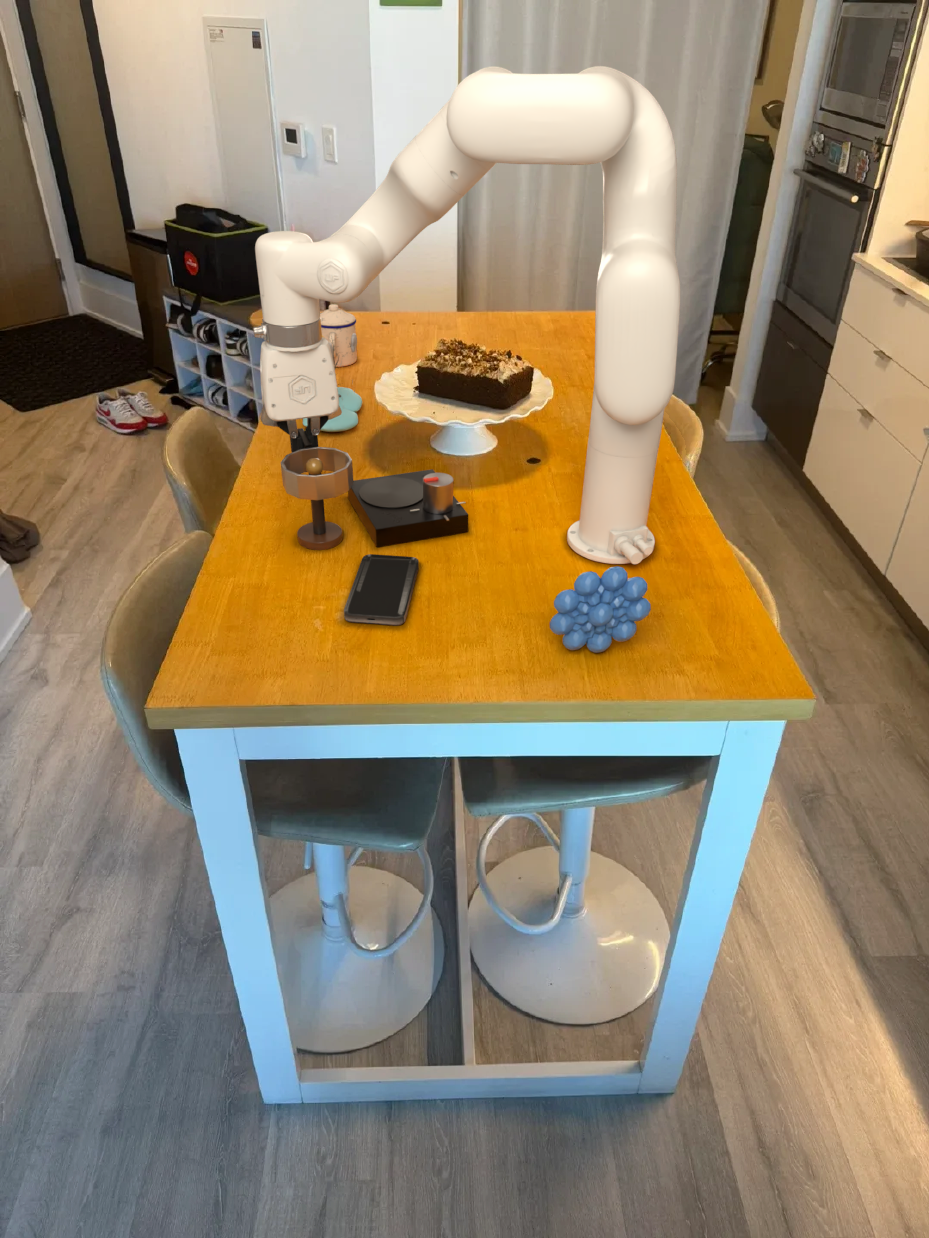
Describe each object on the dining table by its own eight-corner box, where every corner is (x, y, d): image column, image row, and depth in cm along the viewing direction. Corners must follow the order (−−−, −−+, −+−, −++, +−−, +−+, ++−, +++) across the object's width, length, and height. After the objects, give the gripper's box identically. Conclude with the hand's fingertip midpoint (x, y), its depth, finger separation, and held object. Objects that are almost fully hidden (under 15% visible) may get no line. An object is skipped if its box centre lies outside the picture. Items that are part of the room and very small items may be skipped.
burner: (434, 502, 134) (434, 501, 134) (369, 512, 131) (369, 511, 131) (413, 474, 142) (413, 473, 142) (351, 483, 139) (351, 482, 139)
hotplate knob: (446, 498, 136) (447, 469, 133) (457, 511, 132) (457, 481, 129) (419, 502, 134) (418, 473, 131) (428, 516, 131) (428, 486, 128)
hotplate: (475, 534, 133) (475, 515, 131) (378, 550, 128) (377, 531, 127) (437, 485, 146) (437, 467, 144) (348, 498, 141) (347, 480, 140)
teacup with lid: (317, 353, 197) (313, 298, 191) (359, 354, 197) (357, 299, 191) (311, 372, 187) (307, 315, 181) (355, 373, 188) (352, 316, 181)
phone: (419, 557, 125) (403, 618, 112) (419, 564, 125) (403, 626, 113) (363, 553, 125) (341, 614, 113) (363, 560, 126) (341, 621, 114)
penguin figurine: (356, 437, 161) (352, 353, 152) (296, 436, 160) (288, 351, 152) (365, 396, 177) (362, 317, 169) (310, 395, 177) (304, 316, 168)
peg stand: (347, 546, 129) (342, 465, 122) (303, 553, 127) (295, 471, 120) (336, 525, 134) (331, 446, 127) (293, 532, 132) (285, 452, 125)
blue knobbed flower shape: (638, 632, 113) (651, 549, 107) (646, 665, 108) (660, 579, 101) (545, 629, 113) (552, 546, 107) (548, 662, 108) (556, 576, 101)
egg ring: (360, 493, 124) (358, 466, 121) (292, 504, 121) (289, 477, 118) (332, 449, 135) (330, 424, 133) (269, 458, 133) (266, 432, 130)
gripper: (239, 346, 116) (257, 477, 126) (356, 334, 120) (363, 462, 131) (230, 330, 122) (248, 456, 132) (342, 319, 126) (350, 442, 137)
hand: (305, 458), depth 131 cm, fingers closed on egg ring, 1 cm apart
